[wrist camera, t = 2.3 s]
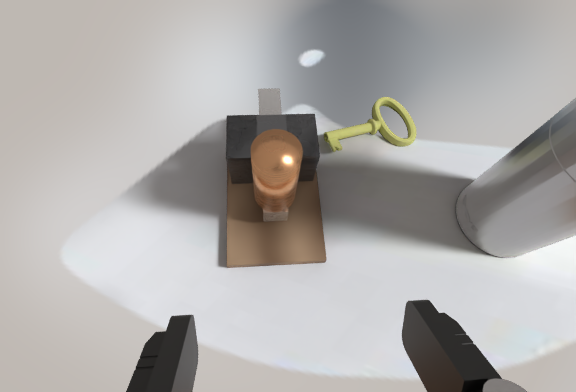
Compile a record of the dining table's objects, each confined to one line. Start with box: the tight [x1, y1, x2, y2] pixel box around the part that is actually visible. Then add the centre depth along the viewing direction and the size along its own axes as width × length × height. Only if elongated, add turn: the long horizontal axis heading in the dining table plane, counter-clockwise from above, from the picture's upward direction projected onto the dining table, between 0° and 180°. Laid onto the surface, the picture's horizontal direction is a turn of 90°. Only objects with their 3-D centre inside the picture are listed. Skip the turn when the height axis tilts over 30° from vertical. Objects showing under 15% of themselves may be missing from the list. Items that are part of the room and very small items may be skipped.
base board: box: [227, 164, 326, 268], centre depth 37 cm, size 10×14×1 cm
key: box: [324, 97, 416, 152], centre depth 42 cm, size 7×12×2 cm, turn 129°
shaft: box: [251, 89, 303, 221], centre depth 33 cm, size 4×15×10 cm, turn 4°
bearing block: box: [226, 114, 320, 184], centre depth 36 cm, size 9×5×6 cm, turn 94°
